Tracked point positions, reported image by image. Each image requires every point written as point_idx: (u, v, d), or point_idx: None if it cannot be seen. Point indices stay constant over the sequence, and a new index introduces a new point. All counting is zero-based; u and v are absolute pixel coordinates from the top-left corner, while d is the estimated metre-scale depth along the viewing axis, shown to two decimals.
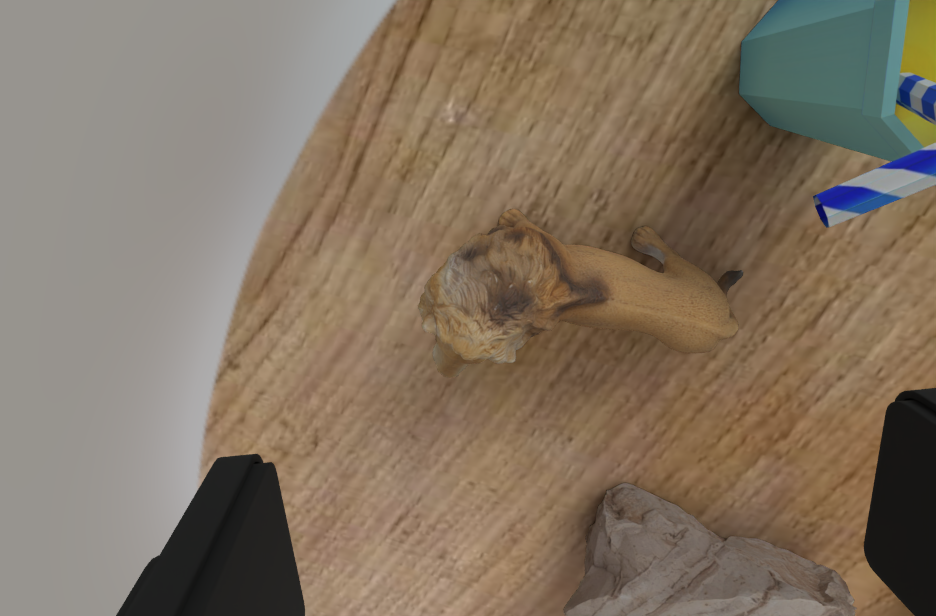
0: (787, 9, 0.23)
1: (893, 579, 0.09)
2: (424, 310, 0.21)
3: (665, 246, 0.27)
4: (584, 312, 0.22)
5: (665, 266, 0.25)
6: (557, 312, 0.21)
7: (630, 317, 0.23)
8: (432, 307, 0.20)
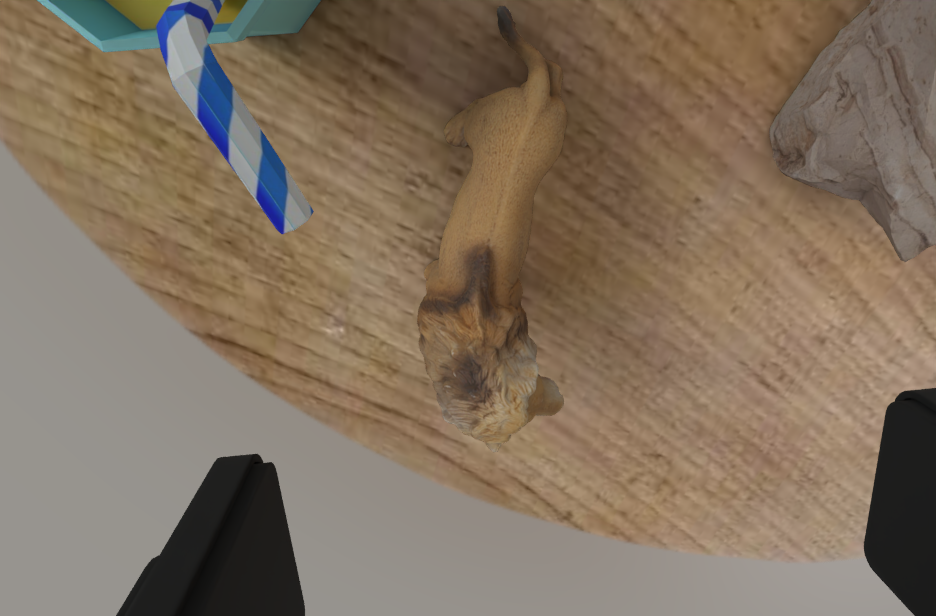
0: None
1: (893, 579, 0.09)
2: None
3: (462, 116, 0.24)
4: (502, 270, 0.21)
5: None
6: (491, 316, 0.20)
7: (510, 218, 0.20)
8: None
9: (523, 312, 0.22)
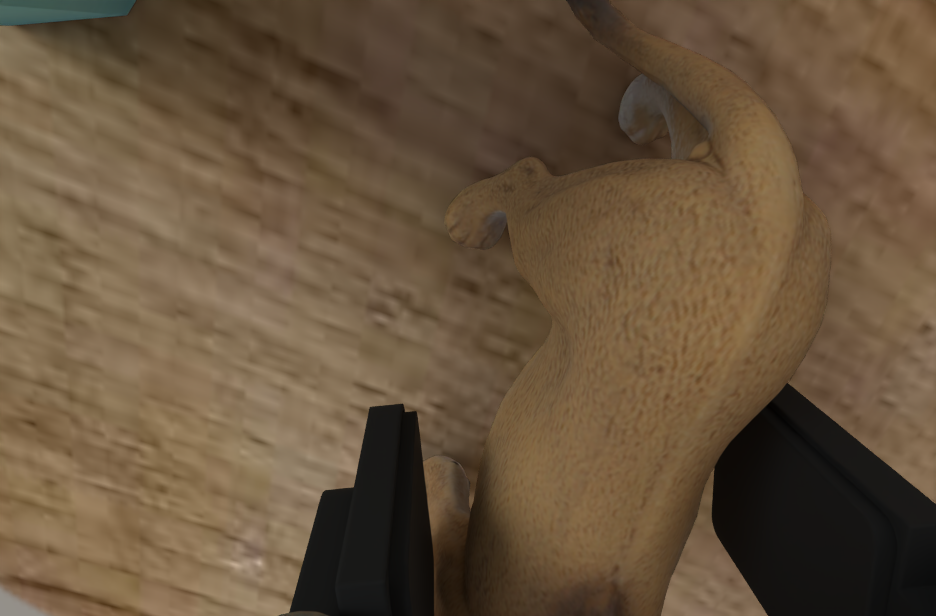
0: None
1: (728, 543, 0.10)
2: None
3: (490, 193, 0.11)
4: None
5: None
6: None
7: (676, 513, 0.07)
8: None
9: None
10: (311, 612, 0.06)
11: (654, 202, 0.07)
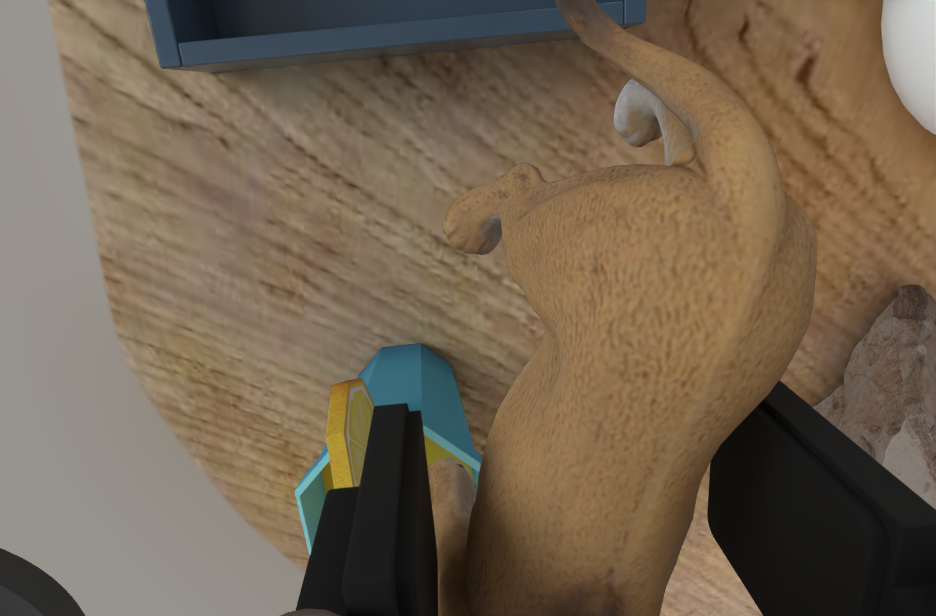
0: None
1: (724, 542, 0.10)
2: None
3: (486, 200, 0.11)
4: None
5: None
6: None
7: (669, 516, 0.08)
8: None
9: None
10: (318, 610, 0.06)
11: (636, 209, 0.07)
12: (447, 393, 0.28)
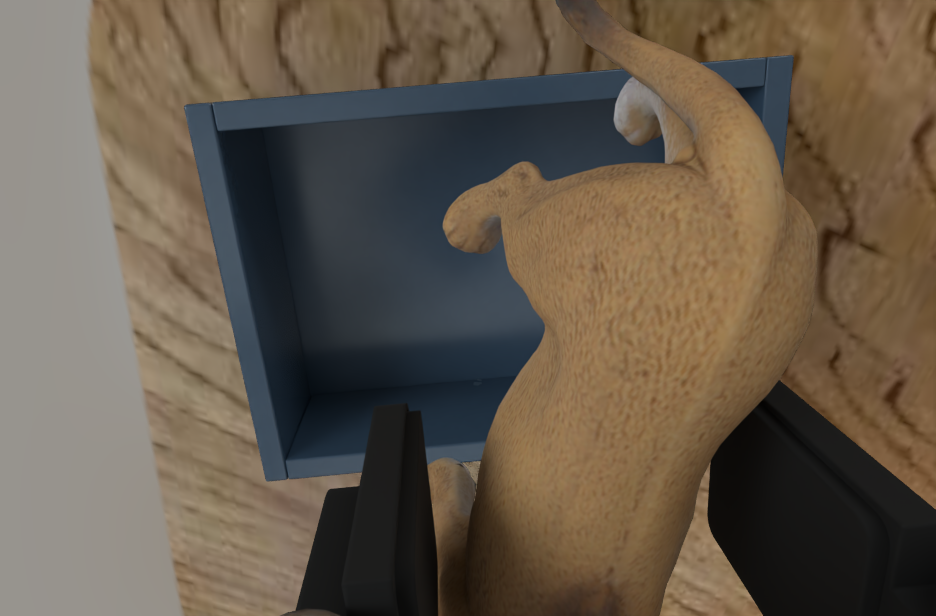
0: None
1: (724, 542, 0.10)
2: None
3: (486, 198, 0.11)
4: None
5: None
6: None
7: (669, 515, 0.08)
8: None
9: None
10: (318, 610, 0.06)
11: (637, 207, 0.07)
12: None
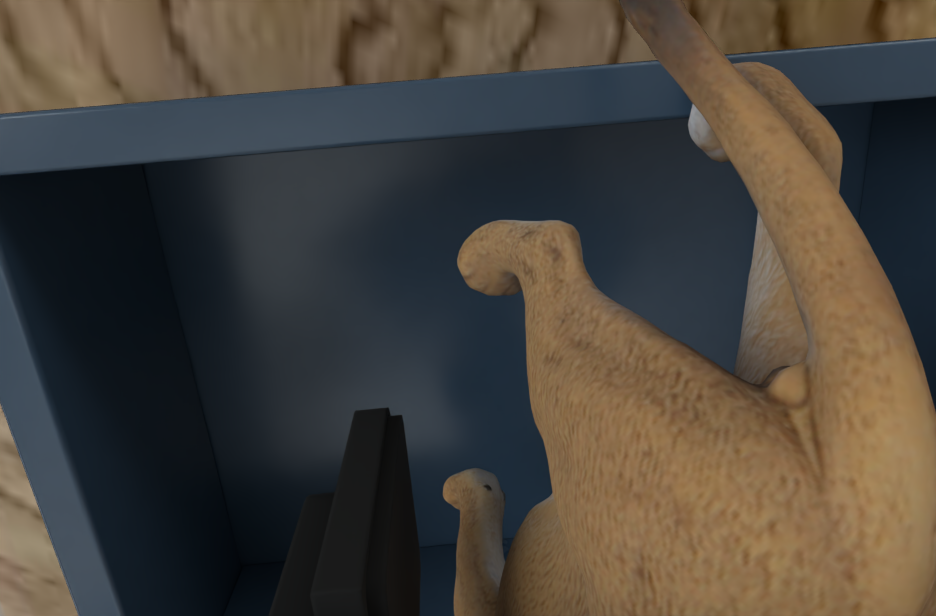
0: None
1: None
2: None
3: (508, 257, 0.08)
4: None
5: None
6: None
7: None
8: None
9: None
10: None
11: (707, 522, 0.04)
12: None
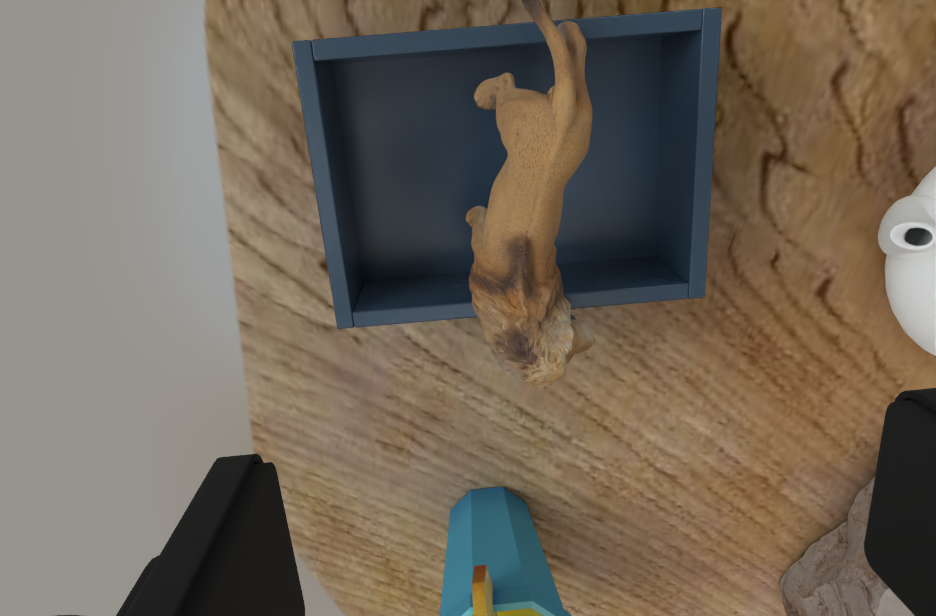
0: None
1: (893, 579, 0.09)
2: None
3: (491, 88, 0.25)
4: (539, 253, 0.24)
5: None
6: (533, 296, 0.24)
7: (545, 213, 0.23)
8: None
9: (558, 275, 0.26)
10: None
11: (529, 114, 0.21)
12: (532, 544, 0.36)
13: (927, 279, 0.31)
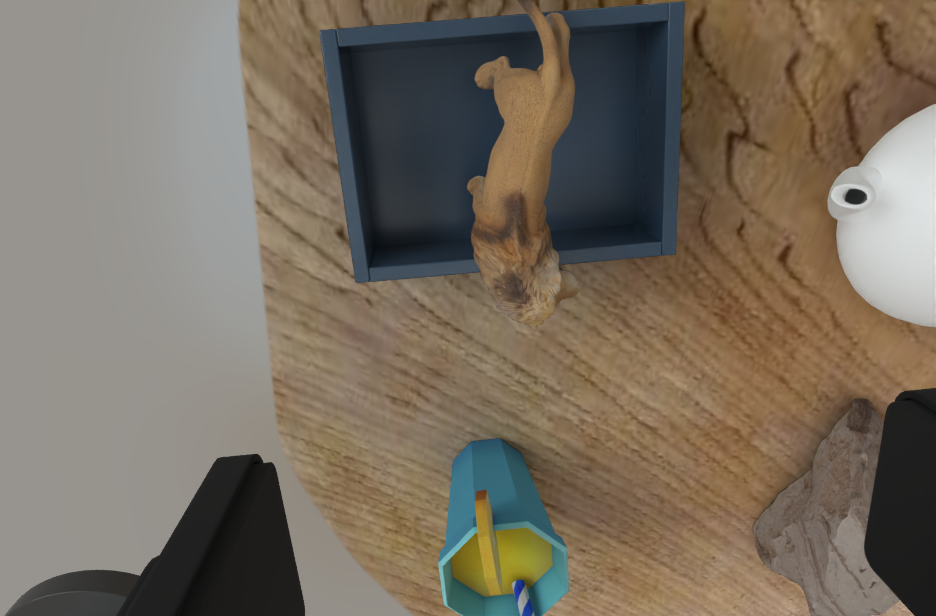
0: None
1: (893, 579, 0.09)
2: None
3: (490, 69, 0.30)
4: (531, 208, 0.29)
5: None
6: (526, 244, 0.28)
7: (536, 172, 0.28)
8: None
9: (547, 230, 0.30)
10: None
11: (521, 87, 0.26)
12: (527, 484, 0.40)
13: (870, 239, 0.35)
